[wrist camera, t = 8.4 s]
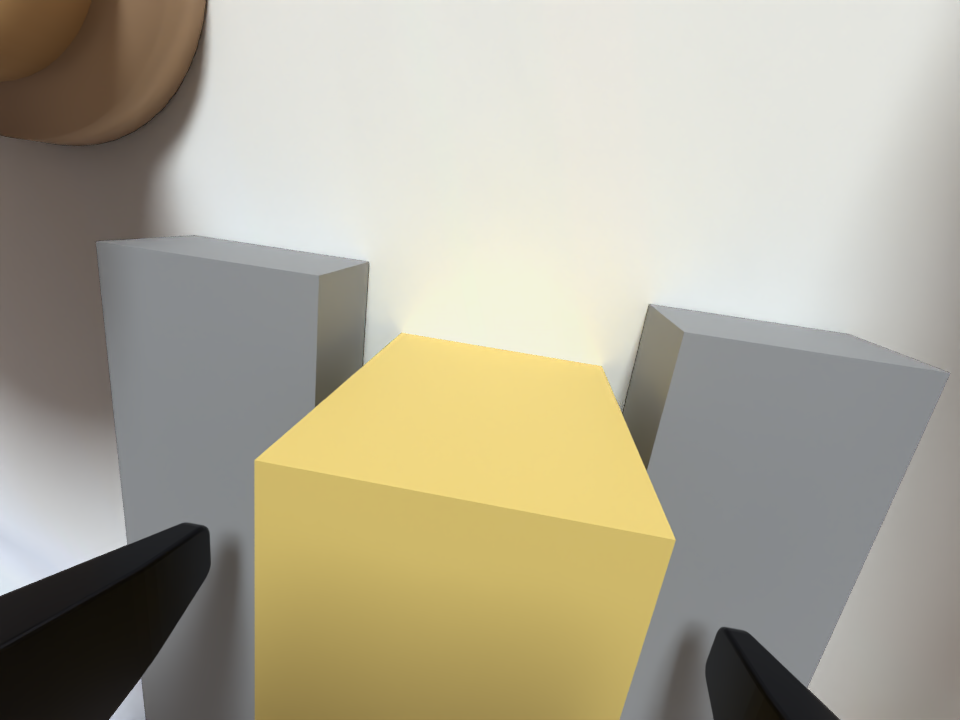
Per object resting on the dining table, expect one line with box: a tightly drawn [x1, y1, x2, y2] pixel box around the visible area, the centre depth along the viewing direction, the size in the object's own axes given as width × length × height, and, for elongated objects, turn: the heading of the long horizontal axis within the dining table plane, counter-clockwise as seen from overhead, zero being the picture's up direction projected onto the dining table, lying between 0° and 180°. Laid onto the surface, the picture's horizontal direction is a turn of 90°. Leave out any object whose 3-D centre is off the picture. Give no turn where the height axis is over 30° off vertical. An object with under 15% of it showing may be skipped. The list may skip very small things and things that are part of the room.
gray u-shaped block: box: [96, 235, 950, 720], centre depth 11 cm, size 14×12×2 cm
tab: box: [254, 333, 676, 720], centre depth 9 cm, size 7×4×6 cm, turn 172°
